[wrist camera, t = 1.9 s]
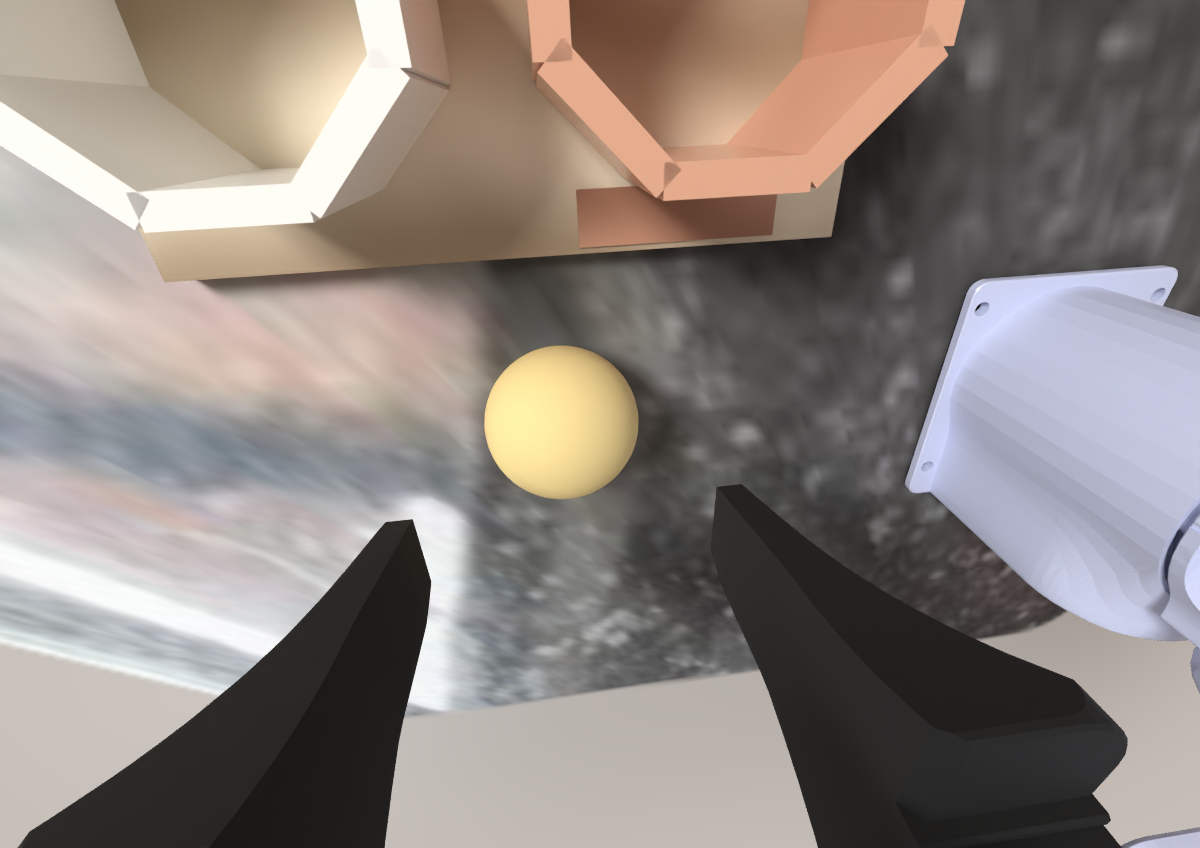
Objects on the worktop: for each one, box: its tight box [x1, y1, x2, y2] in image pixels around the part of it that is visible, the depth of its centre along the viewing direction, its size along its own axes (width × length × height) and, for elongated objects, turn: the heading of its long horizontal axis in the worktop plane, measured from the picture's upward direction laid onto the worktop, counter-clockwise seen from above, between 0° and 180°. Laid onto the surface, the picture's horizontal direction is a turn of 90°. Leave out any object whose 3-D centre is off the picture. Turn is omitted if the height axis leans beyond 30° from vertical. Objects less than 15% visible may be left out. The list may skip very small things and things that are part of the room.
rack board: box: [115, 0, 845, 282], centre depth 13 cm, size 12×20×1 cm, turn 92°
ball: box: [485, 345, 639, 499], centre depth 17 cm, size 5×5×5 cm
